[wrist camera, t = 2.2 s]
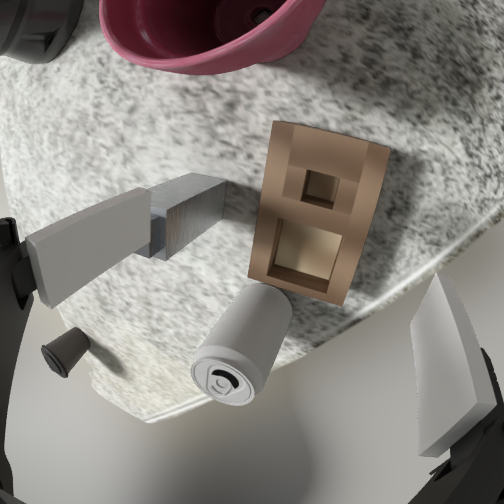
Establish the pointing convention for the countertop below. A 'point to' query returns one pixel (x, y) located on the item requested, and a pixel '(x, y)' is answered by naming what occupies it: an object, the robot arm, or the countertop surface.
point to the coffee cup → (65, 351)
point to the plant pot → (205, 32)
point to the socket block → (315, 209)
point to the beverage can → (243, 345)
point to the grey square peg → (182, 213)
